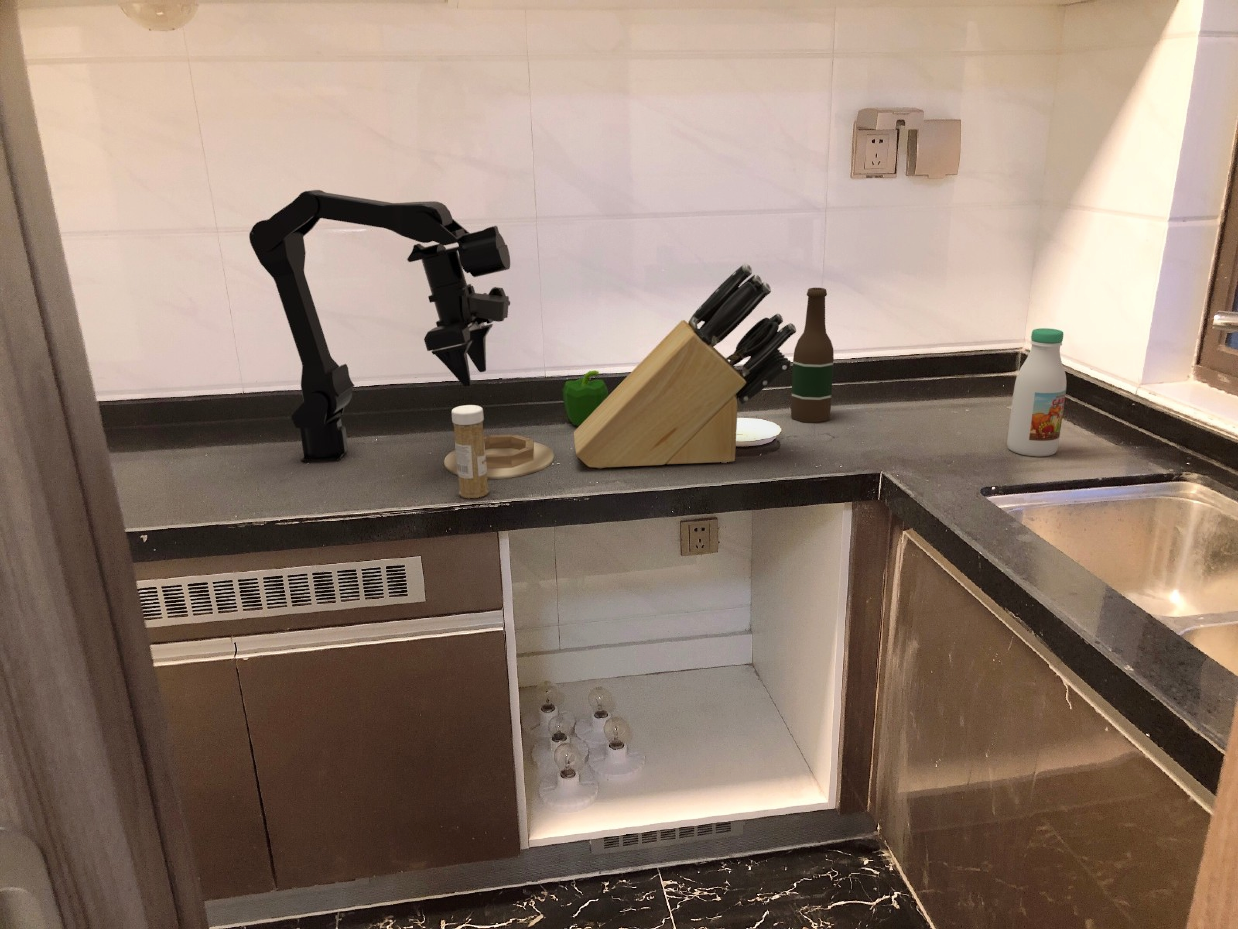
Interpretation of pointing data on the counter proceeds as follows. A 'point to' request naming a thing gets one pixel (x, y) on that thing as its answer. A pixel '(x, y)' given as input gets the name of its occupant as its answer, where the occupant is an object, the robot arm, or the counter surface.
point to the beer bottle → (813, 365)
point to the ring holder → (509, 456)
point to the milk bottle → (1039, 397)
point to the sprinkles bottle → (470, 451)
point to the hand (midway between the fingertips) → (475, 378)
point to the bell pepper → (583, 397)
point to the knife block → (689, 386)
